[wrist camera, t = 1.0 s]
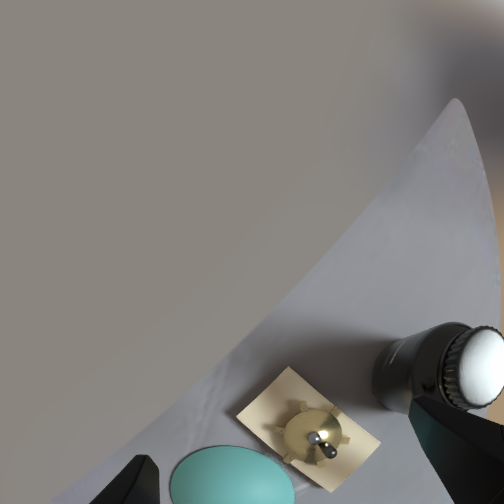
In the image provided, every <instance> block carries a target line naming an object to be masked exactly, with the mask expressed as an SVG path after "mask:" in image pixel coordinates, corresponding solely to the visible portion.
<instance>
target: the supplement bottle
mask: <svg viewBox="0 0 504 504" xmlns="http://www.w3.org/2000/svg"><path fill="white" fill-rule="evenodd" d="M372 385H373V390H374V393H375V395H376V397H377V399H378V400H379V402H380V403H381V404H382V405H383V406H385V407H386V408H388V409H390V410H392V411H395V412H399V413H403V414H407V415H408V412H409V407H410V402H411V399H412V398H414V397H416V396H418V395H420V394H423V395H426V396H428V397H431V398H433V399H436V400H438V401H440V402H443V403H445V404H448V405H450V406H453V407H455V408H458V409H460V410H463V411H466V412H467V411H468V410H469V409H481V408H485V407H486V406H487V405H490V404H491V403H492V402H493V401H495V400H496V399H497V397H498V396H499V395H500V394H501V391H502V390H503V388H504V337H503V336H502V334H501V333H500V332H499V331H498V330H497V329H494V328H493V327H489V326H479V327H476V328H474V329H473V328H472V327H470V326H468V325H466V324H463V323H460V322H448V323H444V324H441V325H438V326H435V327H433V328H430V329H428V330H425V331H422V332H420V333H417V334H415V335H412V336H409V337H406V338H404V339H401V340H398V341H396V342H394V343H392V344H391V345H389V346H388V347H387V348H386V349H385V350H384V351H383V352H382V353H381V355H380V356H379V358H378V359H377V361H376V364H375V366H374V370H373V375H372Z"/></svg>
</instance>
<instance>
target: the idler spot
mask: <svg viewBox="0 0 504 504" xmlns="http://www.w3.org/2000/svg"><path fill="white" fill-rule="evenodd" d="M171 497H172V500H173V503H174V504H294V499H295V497H294V489H293V485H292V483H291V480H290V478H289V477H288V475H287V473H286V472H285V471H284V470H283V469H282V468H281V467H280V466H279V465H278V464H277V463H276V462H274V461H273V460H272V459H270V458H269V457H267V456H265V455H263V454H261V453H258V452H256V451H253V450H250V449H247V448H242V447H235V446H217V447H211V448H206V449H203V450H200V451H198V452H196V453H194V454H192V455H190V456H189V457H187V458H186V459H185V460H184V461H182V462H181V463H180V465H179V466H178V467H177V468H176V470H175V472H174V474H173V477H172V480H171Z"/></svg>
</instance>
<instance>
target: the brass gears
mask: <svg viewBox="0 0 504 504" xmlns="http://www.w3.org/2000/svg"><path fill="white" fill-rule="evenodd" d="M298 405H299V408H300V412H298V413H296V414H295V415H294V416H292V417H291V418H290V419H289V420H288V422H287V423H286V425H285V426H281V425H276V427H275V430H274V434H279V435H283V443H284V446H285V449H286V451H287V453H286V454H285V455H284V456H283V457H282V459H283V461H284V462H286V463H287V464H289V463H290V462H292V461H293V460H294V459H297V460H299V461H302V462H316V464H317V466H318V468H319V469H320V468H323V467H326V464H325V461H324V459H326V458H328V459H333V458H335V457H336V456H337V450H336V449H337V448H338V446H339V444H347V445H348V444H349V441H350V437H348V436H346V435H342V428H341V425H340V423H339V421H338V420H337V417H338V416H339V415H340V414H341V412H342V411H341V410H340V409H339V408H338V407H336V406H334V407H333V408H332V409H331V410H330V411H329V412H327V411H325V410H322V409H316V408H311V409H308V405H307V402H306V401H304V402H301V403H298Z"/></svg>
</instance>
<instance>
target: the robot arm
mask: <svg viewBox="0 0 504 504" xmlns="http://www.w3.org/2000/svg"><path fill="white" fill-rule="evenodd" d="M408 417H409V420H410V422H411V424H412V426H413V429H414V431H415V433H416V435H417V438H418V440H419V442H420V444H421V447H422V449H423V451H424V453H425V454H426V456H427V458H428V459H429V461H430V463H431V464H432V466H433V468H434V469H435V471H436V473H437V474H438V476H439V478H440V479H441V481H442V483H443V484H444V486H445V488H446V490H447V491H448V493H449V495H450V497H451V498H452V500H453V502H454V504H504V425H500V424H498V423H495V422H492V421H490V420H487V419H484V418H482V417H479V416H476V415H473V414H471V413H468V412H466V411H463V410H460V409H458V408H455V407H453V406H450V405H448V404H445V403H443V402H440V401H438V400H436V399H433V398H431V397H428V396H426V395H423V394H420V395H418V396H416V397H414V398H412V399H411V402H410V407H409V412H408ZM89 504H160V488H159V469H158V467H157V465H156V464H155V463H154V462H153V460H152V459H151V458H150V456H148V455H141V454H139V455H136V456H135V457H134V458H133V459H132V460H131V461H130V462H129V463H128V464H127V465H126V466H125V467H124V469H123V470H122V471H121V472H120V473H119V474H118V475H117V476H116V477H115V478H114V479H113V480H112V481H111V482H110V483H109V484H108V485H107V486H106V487H105V488H104V489H103V490H102V491H101V492H100V493H99V494H98V495H97V496H96V497H95V498H94V499H93V500H92V501H91V502H90V503H89Z"/></svg>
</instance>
